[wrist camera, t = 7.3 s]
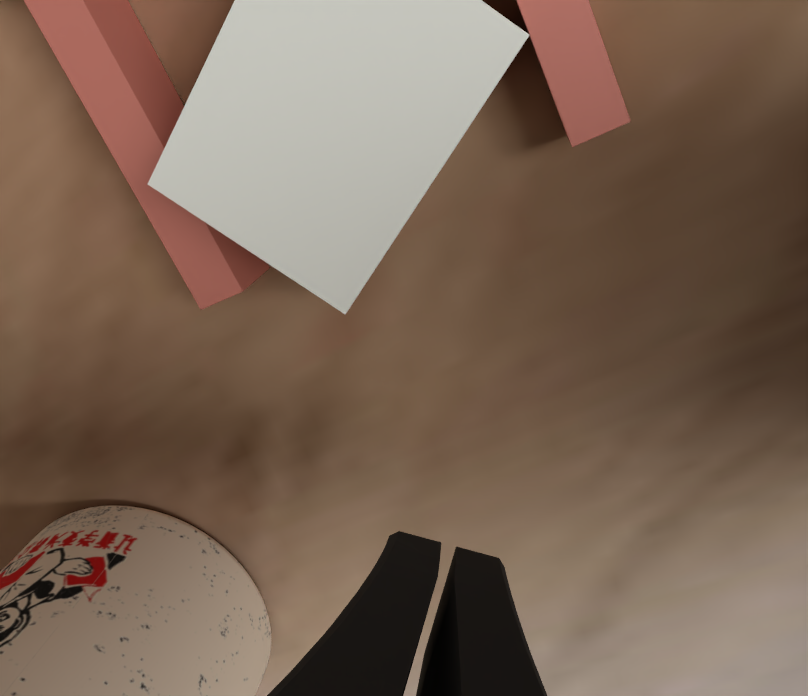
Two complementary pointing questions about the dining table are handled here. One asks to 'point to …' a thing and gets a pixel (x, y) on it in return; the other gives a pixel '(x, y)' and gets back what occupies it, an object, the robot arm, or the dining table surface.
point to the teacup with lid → (129, 611)
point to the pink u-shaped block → (161, 107)
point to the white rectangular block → (330, 126)
